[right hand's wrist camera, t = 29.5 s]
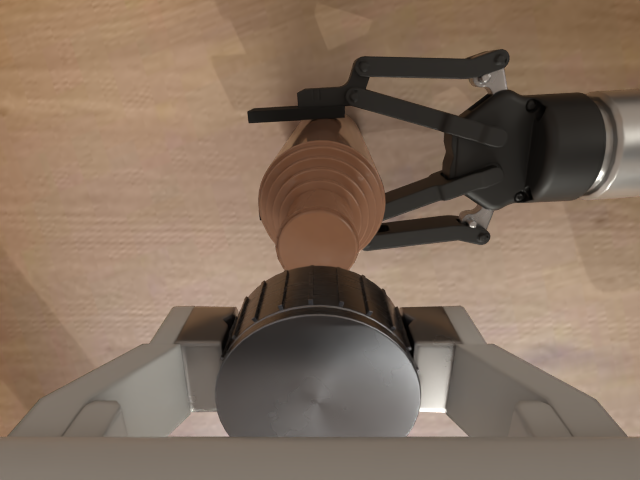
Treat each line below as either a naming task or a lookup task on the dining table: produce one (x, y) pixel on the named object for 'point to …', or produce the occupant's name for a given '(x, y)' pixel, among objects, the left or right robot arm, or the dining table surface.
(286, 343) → the cap
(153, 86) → the dining table surface
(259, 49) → the dining table surface
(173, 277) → the dining table surface
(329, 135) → the bottle
